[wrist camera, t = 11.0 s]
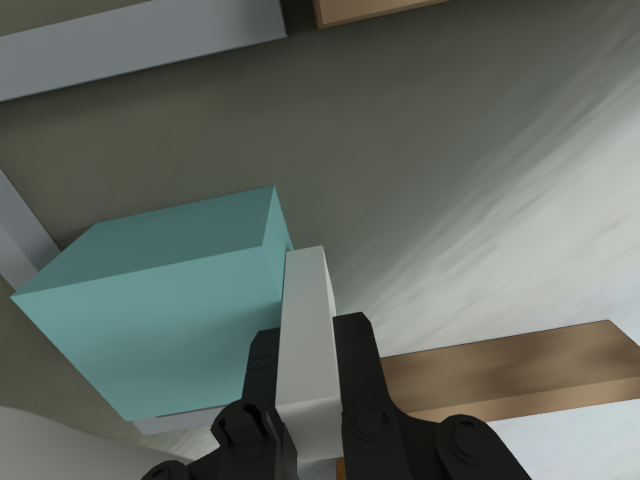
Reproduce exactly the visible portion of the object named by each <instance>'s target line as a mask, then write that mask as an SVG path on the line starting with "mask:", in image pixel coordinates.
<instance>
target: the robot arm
mask: <svg viewBox="0 0 640 480" xmlns="http://www.w3.org/2000/svg"><path fill="white" fill-rule="evenodd" d="M210 431H211V432H212V434H213V435H214V437H215V438H216V440H217V441H218V443H219V444H220V447H219V448H217V449H216V450H214V451H213V452H211V453H209V454H207V455H206V456H204V457H202V458H200V459H198V460H196V461H194V462H192V463H190V464H188V465H186V466H185V465H184V464H183V463H181V462H179V461H177V460H170V461H164V462H162V463H160V464H158V465H157V466H155V467H153V468H152V469H151V470H150V471H149V472H148V473H147V474H146V475H144V476H143V478H142V479H141V480H299V477H298V475H297V456H298V458H299V460H300V462H301V463H305V462H312V461H318V460H325V459H332V458H338V457H344V464H345V474H346V480H532V479H531V478H530V476H529V475H528V474H527V472H526V471H525V470H524V469H523V467H522V466H521V465H520V463H519V462H518V461H517V459H516V458H515V457H514V456H513V454H512V453H511V452H510V450H509V449H508V448H507V446H506V445H505V444H504V443H503V441H502V440H501V439H500V437H499V436H498V435H497V434H496V432H495V431H494V430H493V429H492V428H491V427H489V426H488V425H487V424H486V423H485V422H484V421H482V420H480V419H478V418H476V417H474V416H470V415H465V414H457V415H452V416H448V417H447V418H446V419H444V420H443V421H442V422H440V423H438V422H433V421H427V420H422V419H418V418H414V417H411V416H409V415H407V414H406V413H404V412H402V411H401V410H400V409H399V408H398V407H397V406H396V405H395V404H394V402H393V401H392V400H391V397H390V395H389V392H388V388H387V384H386V380H385V376H384V372H383V369H382V365H381V361H380V357H379V353H378V349H377V345H376V341H375V337H374V333H373V329H372V325H371V322H370V321H369V320H368V318H367V317H366V316H365V315H364V314H363V313H362V312H357V313H352V314H346V315H340V316H336V310H335V302H334V295H333V290H332V286H331V281H330V277H329V272H328V268H327V263H326V259H325V254H324V250H323V245H320V246H315V247H310V248H305V249H299V250H294V251H289V252H286V263H285V277H284V291H283V305H282V318H281V327H278V328H272V329H266V330H261V331H258V332H257V334H256V336H255V337H254V339H253V341H252V342H251V344H250V349H249V355H248V361H247V367H246V373H245V379H244V385H243V390H242V396H241V399H239V400H236V401H233V402H231V403H230V404H229V405H227V406H226V407H225V408H223V409H222V410H221V412H220V413H219V414H218V415H217V417H216V418H215V419H214V422H213V424H212V427H211V429H210Z"/></svg>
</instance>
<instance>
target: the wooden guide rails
mask: <svg viewBox="0 0 640 480" xmlns="http://www.w3.org/2000/svg"><path fill="white" fill-rule="evenodd" d="M446 1H451V0H312V4H313V10H314V16H315V22H316V28H317V31H318V30H323V29H327V28H331V27H336V26H340V25H345V24H349V23H353V22H358V21H362V20H367V19H371V18H376V17H380V16H384V15H389V14H393V13H398V12H402V11H407V10H411V9H415V8H420V7H424V6H429V5H433V4H437V3H442V2H446ZM380 361H381V365H382V369H383V372H384V376H385V380H386V384H387V388H388V392H389V395H390V397H391V400H392V401H393V402H394V404H395V405H396V406H397V407H398V408H399V409H400V410H401V411H402V412H404V413H406V414H407V415H409V416H411V417H414V418H418V419H422V420H427V421H433V422H438V423H440V422H442V421H443V420H444V419H446V418H447V417H448V416H452V415H457V414H465V415H470V416H474V417H476V418H478V419H480V420H482V421H484V422H490V421H497V420H503V419H510V418H516V417H523V416H529V415H536V414H542V413H548V412H555V411H561V410H568V409H574V408H581V407H587V406H594V405H600V404H607V403H613V402H620V401H626V400H632V399H639V398H640V346H638V345H637V344H636V343H635V342H634V341H633V340H632V339H631V338H629V337H628V336H627V335H626V334H625V333H624V332H623V331H622V330H620V329H619V328H618V327H617V326H616V325H615V324H614V323H612V322H611V321H610V320H606V321H600V322H594V323H588V324H582V325H576V326H570V327H564V328H558V329H553V330H547V331H541V332H535V333H529V334H523V335H517V336H511V337H505V338H499V339H493V340H487V341H481V342H475V343H469V344H463V345H457V346H451V347H446V348H440V349H434V350H428V351H422V352H416V353H410V354H404V355H398V356H392V357H386V358H380Z"/></svg>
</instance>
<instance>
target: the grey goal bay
mask: <svg viewBox="0 0 640 480" xmlns="http://www.w3.org/2000/svg"><path fill="white" fill-rule="evenodd" d="M283 38H287V32H286V27H285V22H284V17H283V12H282V7H281V3H280V0H153V1H148V2H144V3H140V4H136V5H132V6H127V7H123V8H119V9H115V10H111V11H106V12H102V13H98V14H94V15H90V16H85V17H81V18H77V19H73V20H69V21H64V22H60V23H56V24H52V25H48V26H43V27H39V28H35V29H31V30H27V31H23V32H18V33H14V34H10V35H6V36H2V37H0V102H4V101H9V100H13V99H18V98H22V97H26V96H31V95H35V94H40V93H44V92H49V91H53V90H57V89H62V88H66V87H71V86H75V85H79V84H84V83H88V82H93V81H97V80H102V79H106V78H110V77H115V76H119V75H124V74H128V73H133V72H137V71H141V70H146V69H150V68H155V67H159V66H163V65H168V64H172V63H177V62H181V61H186V60H190V59H194V58H199V57H203V56H208V55H212V54H216V53H221V52H225V51H230V50H234V49H239V48H243V47H247V46H252V45H256V44H261V43H265V42H270V41H274V40H278V39H283ZM60 253H62V252H61V251H60V249H59V248H58V247H57V245H56V244H55V243H54V241H53V240H52V239H51V237H50V236H49V234H48V233H47V232H46V230H45V229H44V228H43V226H42V225H41V224H40V222H39V221H38V219H37V218H36V217H35V215H34V214H33V213H32V211H31V210H30V208H29V207H28V206H27V204H26V203H25V202H24V200H23V199H22V198H21V196H20V195H19V193H18V192H17V191H16V189H15V188H14V187H13V185H12V184H11V183H10V181H9V180H8V178H7V177H6V176H5V174H4V173H3V172H2V170H1V169H0V274H1V275H2V276H3V277H4V278H5V280H6V281H7V282H8V283H9V284H10V285H11V286H12V287H13V289H14V290H15V291H17V290H18V289H20V288H21V287H22V286H23V285H24V284H25V283H27V282H28V281H29V280H30V279H31V278H32V277H34V276H35V275H36V274H37V273H38V272H39V271H41V270H42V269H43V268H44V267H45V266H46V265H48V264H49V263H50V262H51V261H52V260H53V259H55V258H56V257H57V256H58V255H59V254H60ZM227 405H229V404H225V405H219V406H213V407H207V408H202V409H196V410H190V411H184V412H178V413H173V414H167V415H161V416H155V417H149V418H144V419H138V420H132V423H133V424H134V425H135V426H136V427H137V428H138V429H139V430H140V432H141V433H142V434H143V435H144V436H145V435H151V434H157V433H163V432H170V431H176V430H182V429H188V428H194V427H201V426H207V425H212V424H213V422H214V419H215V418H216V417H217V415H218V414H219V413H220V412H221V410H222V409H223V408H225V407H226V406H227Z"/></svg>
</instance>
